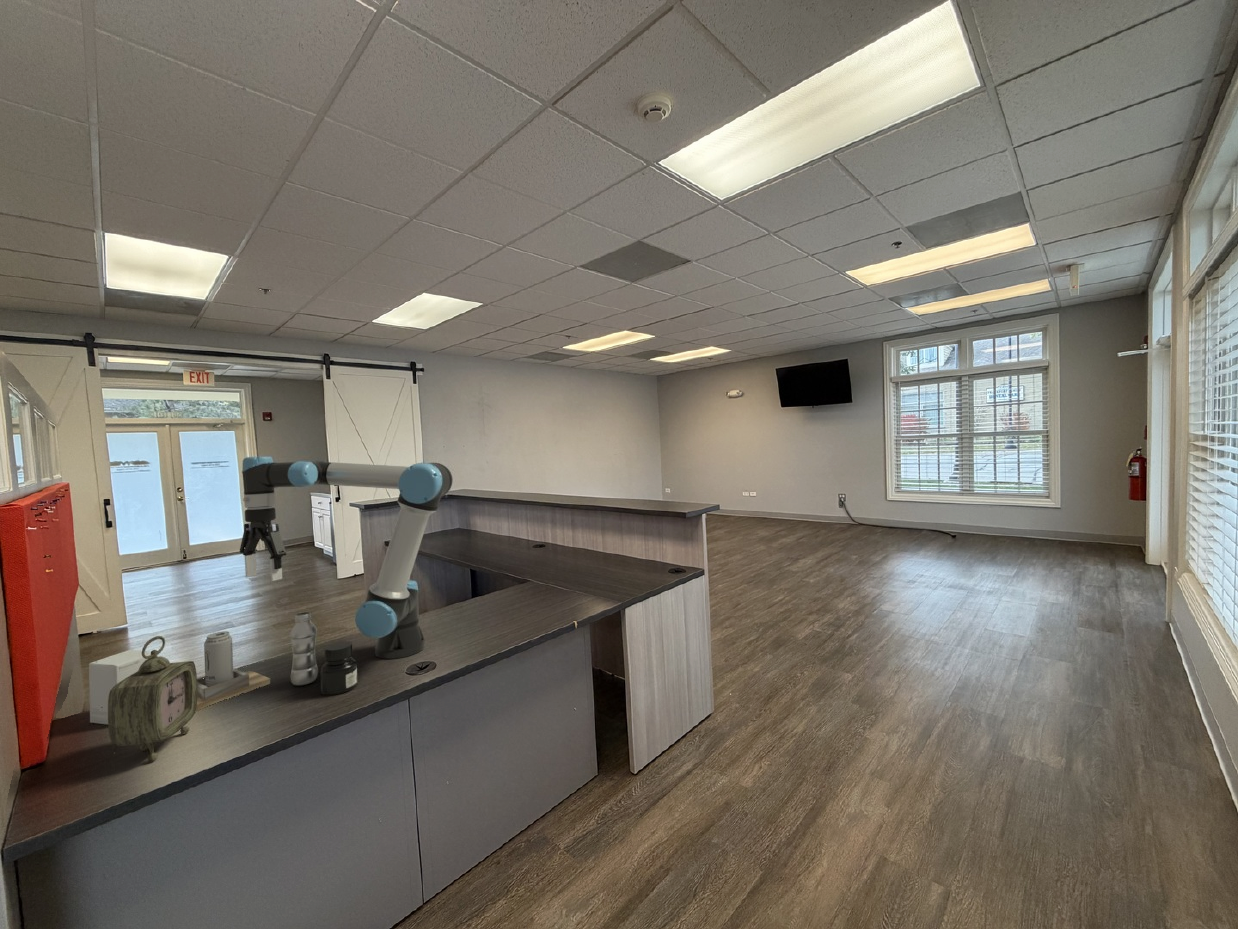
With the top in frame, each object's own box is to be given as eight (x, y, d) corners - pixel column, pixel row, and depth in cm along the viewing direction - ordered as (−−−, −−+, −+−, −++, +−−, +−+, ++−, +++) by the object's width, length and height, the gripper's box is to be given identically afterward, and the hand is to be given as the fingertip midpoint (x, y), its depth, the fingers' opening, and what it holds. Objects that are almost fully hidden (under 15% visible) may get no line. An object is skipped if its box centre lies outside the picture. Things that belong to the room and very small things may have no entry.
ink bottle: (357, 691, 137) (356, 648, 137) (320, 699, 133) (319, 655, 133) (356, 677, 146) (355, 637, 145) (321, 685, 141) (320, 643, 141)
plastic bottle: (287, 683, 142) (285, 614, 142) (314, 675, 147) (312, 608, 147) (294, 691, 138) (292, 619, 138) (321, 682, 143) (319, 613, 143)
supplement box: (117, 727, 121) (115, 665, 120) (89, 723, 122) (86, 663, 122) (158, 708, 130) (156, 651, 129) (131, 705, 131) (129, 649, 131)
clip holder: (270, 683, 143) (269, 668, 143) (182, 716, 125) (181, 698, 125) (251, 675, 148) (250, 660, 148) (164, 705, 131) (163, 688, 131)
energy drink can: (202, 690, 136) (200, 635, 136) (228, 681, 141) (227, 629, 141) (210, 696, 133) (208, 640, 132) (237, 687, 137) (235, 633, 137)
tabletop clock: (156, 765, 105) (152, 648, 105) (105, 772, 103) (100, 652, 103) (198, 728, 119) (195, 625, 119) (154, 733, 117) (150, 628, 117)
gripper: (223, 508, 152) (227, 577, 153) (270, 510, 141) (274, 584, 141) (250, 505, 159) (254, 572, 159) (297, 507, 147) (301, 578, 148)
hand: (263, 578), depth 150 cm, fingers open, 13 cm apart
